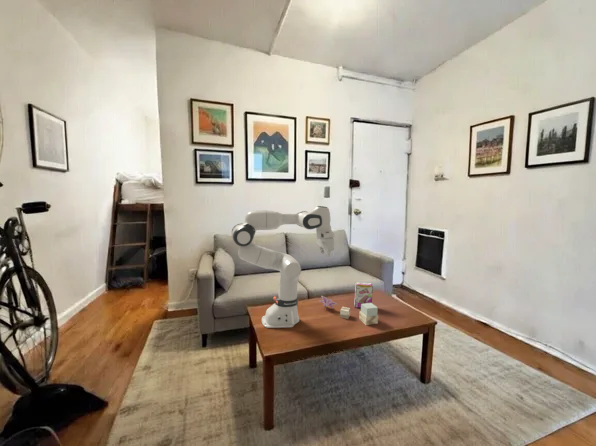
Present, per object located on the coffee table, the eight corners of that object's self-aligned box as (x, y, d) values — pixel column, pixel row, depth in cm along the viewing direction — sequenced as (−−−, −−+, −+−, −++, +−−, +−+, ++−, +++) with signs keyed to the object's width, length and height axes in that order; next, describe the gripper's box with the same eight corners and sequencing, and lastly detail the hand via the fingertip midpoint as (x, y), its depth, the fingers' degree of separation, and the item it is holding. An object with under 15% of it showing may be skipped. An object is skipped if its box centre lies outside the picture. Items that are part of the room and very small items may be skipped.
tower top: (366, 316, 158) (367, 308, 157) (360, 311, 164) (361, 303, 164) (377, 315, 159) (377, 307, 159) (370, 310, 166) (371, 302, 166)
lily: (339, 314, 173) (340, 299, 177) (326, 311, 167) (327, 295, 171) (326, 313, 182) (327, 299, 186) (313, 310, 176) (315, 295, 180)
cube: (348, 319, 165) (348, 311, 164) (340, 317, 167) (340, 309, 166) (349, 315, 169) (350, 308, 169) (342, 314, 171) (342, 306, 171)
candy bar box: (354, 308, 181) (355, 284, 179) (354, 304, 186) (355, 281, 184) (371, 309, 180) (373, 285, 178) (370, 305, 185) (371, 282, 183)
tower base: (365, 325, 158) (366, 317, 157) (359, 319, 165) (359, 311, 165) (377, 323, 160) (378, 315, 159) (370, 317, 167) (371, 310, 167)
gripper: (313, 230, 171) (314, 252, 173) (325, 236, 151) (326, 259, 153) (322, 229, 173) (323, 250, 175) (335, 234, 153) (336, 258, 155)
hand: (325, 255), depth 164 cm, fingers open, 8 cm apart
